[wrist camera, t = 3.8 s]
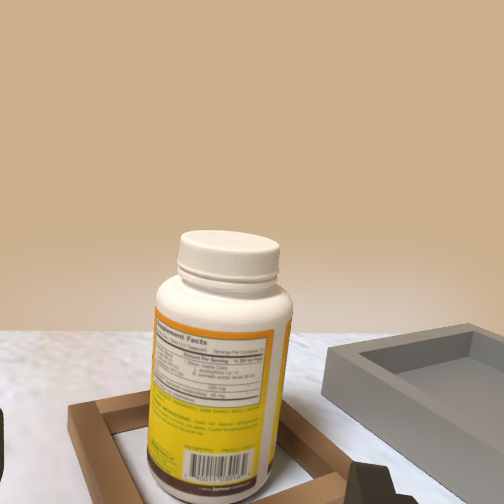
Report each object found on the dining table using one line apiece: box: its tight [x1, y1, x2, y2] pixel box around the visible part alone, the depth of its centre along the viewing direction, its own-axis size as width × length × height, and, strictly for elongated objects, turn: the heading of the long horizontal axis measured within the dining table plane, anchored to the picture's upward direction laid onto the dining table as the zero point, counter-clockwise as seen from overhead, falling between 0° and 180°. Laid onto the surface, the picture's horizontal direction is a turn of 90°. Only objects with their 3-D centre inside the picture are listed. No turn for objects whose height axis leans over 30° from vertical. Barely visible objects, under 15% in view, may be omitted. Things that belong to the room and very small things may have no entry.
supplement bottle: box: [147, 230, 293, 504], centre depth 19 cm, size 6×6×10 cm
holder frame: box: [67, 390, 353, 504], centre depth 20 cm, size 10×10×1 cm
